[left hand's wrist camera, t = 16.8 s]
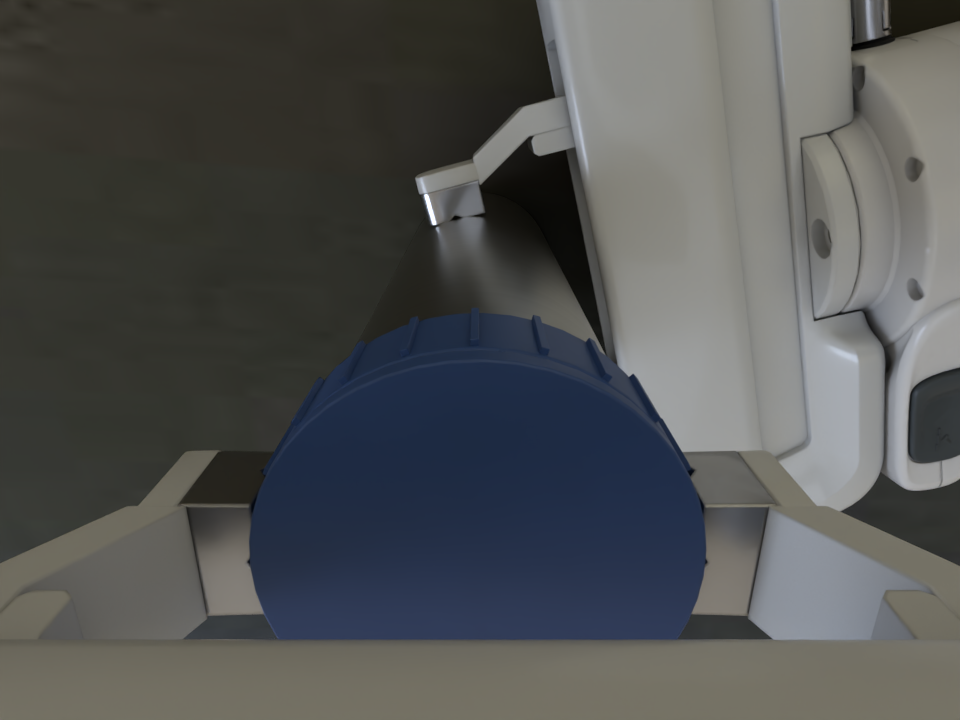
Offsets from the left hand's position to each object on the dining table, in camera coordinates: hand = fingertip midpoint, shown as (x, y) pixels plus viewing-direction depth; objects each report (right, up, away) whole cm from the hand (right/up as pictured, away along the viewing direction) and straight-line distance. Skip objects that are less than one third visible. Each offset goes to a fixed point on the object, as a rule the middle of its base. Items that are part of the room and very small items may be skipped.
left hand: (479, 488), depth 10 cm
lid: (0, -1, -2) cm, 2 cm away
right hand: (-1, +4, +11) cm, 11 cm away
